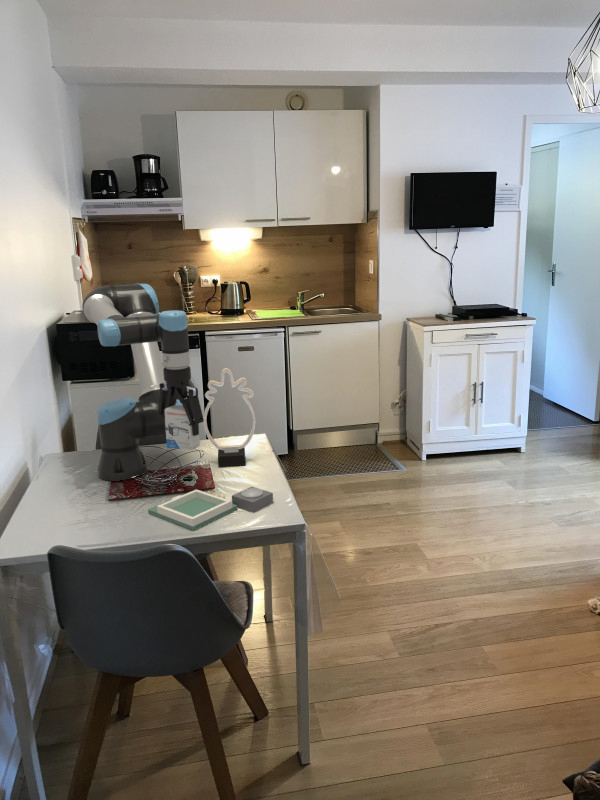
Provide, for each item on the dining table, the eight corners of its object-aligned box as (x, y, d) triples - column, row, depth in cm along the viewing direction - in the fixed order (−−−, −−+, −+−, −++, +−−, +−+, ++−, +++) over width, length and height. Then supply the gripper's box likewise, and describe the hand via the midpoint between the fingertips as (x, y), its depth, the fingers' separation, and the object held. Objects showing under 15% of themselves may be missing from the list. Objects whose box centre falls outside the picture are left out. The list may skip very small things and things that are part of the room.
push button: (232, 505, 179) (231, 493, 178) (252, 496, 185) (251, 484, 184) (253, 512, 174) (252, 500, 173) (273, 502, 180) (272, 490, 179)
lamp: (257, 456, 218) (252, 363, 210) (258, 465, 209) (253, 369, 201) (206, 459, 216) (200, 366, 208) (205, 468, 208) (199, 372, 200)
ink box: (166, 448, 187) (163, 409, 183) (174, 442, 191) (171, 404, 188) (193, 450, 184) (190, 411, 181) (200, 444, 189) (198, 406, 186)
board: (148, 513, 175) (147, 502, 174) (193, 494, 187) (192, 484, 186) (193, 530, 164) (192, 519, 163) (237, 509, 176) (236, 498, 175)
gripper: (141, 364, 185) (147, 438, 191) (193, 373, 171) (198, 453, 177) (161, 360, 191) (167, 432, 197) (213, 368, 177) (218, 446, 183)
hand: (182, 442), depth 187 cm, fingers closed on ink box, 9 cm apart
